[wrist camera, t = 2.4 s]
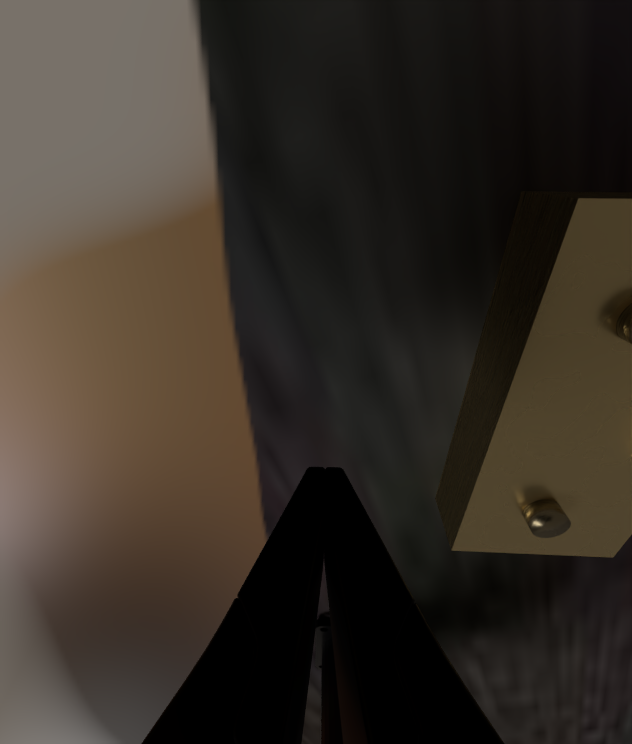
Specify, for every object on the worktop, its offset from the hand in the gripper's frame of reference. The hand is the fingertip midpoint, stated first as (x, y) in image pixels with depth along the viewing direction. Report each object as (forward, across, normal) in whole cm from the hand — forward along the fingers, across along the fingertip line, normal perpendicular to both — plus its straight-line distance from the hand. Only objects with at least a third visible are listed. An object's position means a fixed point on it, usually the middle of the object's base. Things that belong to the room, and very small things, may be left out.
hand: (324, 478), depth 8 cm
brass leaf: (+4, -10, 0) cm, 11 cm away
